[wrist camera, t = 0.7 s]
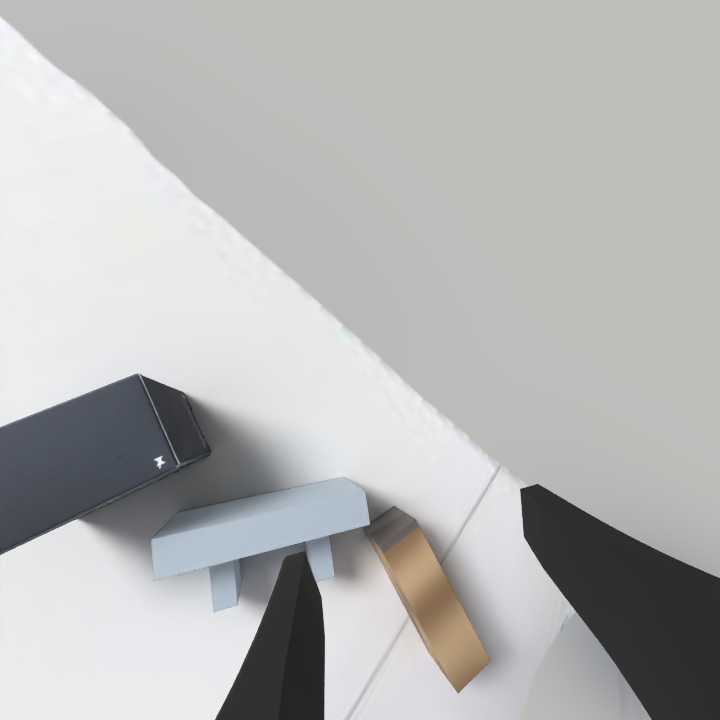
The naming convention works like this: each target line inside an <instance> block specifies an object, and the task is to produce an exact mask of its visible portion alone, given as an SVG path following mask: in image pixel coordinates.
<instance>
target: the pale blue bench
mask: <svg viewBox="0 0 720 720" xmlns="http://www.w3.org/2000/svg"><path fill="white" fill-rule="evenodd" d="M367 525H370V520H369V514H368V507H367V500H366V494H365V490H363V489H362V488H360V487H359V486H357V485H356V484H354V483H353V482H351V481H350V480H348V479H347V478H345V477H341V478H336V479H331V480H327V481H322V482H317V483H313V484H308V485H303V486H299V487H294V488H289V489H285V490H280V491H275V492H271V493H266V494H261V495H257V496H252V497H247V498H242V499H238V500H233V501H228V502H224V503H219V504H214V505H210V506H205V507H200V508H196V509H191V510H186V511H182V512H178V513H177V514H176V515H175V516H174V517H173V518H172V519H171V520H170V521H169V522H168V523H167V524H166V525H165V526H164V527H163V528H162V529H161V530H160V531H159V532H158V533H157V534H156V535H155V536H154V537H153V538H152V539H151V547H152V563H153V578H154V581H156V580H159V579H163V578H167V577H171V576H175V575H179V574H183V573H186V572H190V571H194V570H198V569H202V568H206V567H209V566H210V578H211V590H212V601H213V612H217V611H220V610H224V609H227V608H230V607H234V606H237V605H238V599H239V593H240V586H241V573H240V563H239V559H240V558H244V557H248V556H252V555H255V554H259V553H263V552H267V551H271V550H275V549H278V548H282V547H286V546H290V545H294V544H298V543H301V542H305V544H306V552H307V559H308V561H309V564H310V567H311V570H312V572H313V575H314V578H315V581H316V582H318V581H321V580H324V579H328V578H331V577H335V576H334V568H333V561H332V553H331V546H330V538H329V535H332V534H336V533H340V532H344V531H347V530H351V529H355V528H359V527H363V526H367Z"/></svg>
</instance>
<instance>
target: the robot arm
mask: <svg viewBox="0 0 720 720" xmlns="http://www.w3.org/2000/svg"><path fill="white" fill-rule="evenodd" d="M520 492H521V505H522V517H523V530H524V537H525V539H526V541H527V542H528V544H529V546H530V547H531V549H532V551H533V552H534V554H535V556H536V557H537V559H538V560H539V562H540V564H541V565H542V567H543V568H544V570H545V571H546V572H547V574H548V575H549V576H550V578H551V579H552V580H553V582H554V583H555V584H556V586H557V587H558V588H559V590H560V591H561V592H562V594H563V595H564V596H565V598H566V599H567V600H568V601H569V603H570V604H571V605H572V607H573V608H574V609H575V611H576V612H577V613H578V614H579V616H580V617H581V618H582V620H583V621H584V622H585V623H586V625H587V626H588V627H589V629H590V630H591V631H592V633H593V634H594V635H595V637H596V638H597V639H598V640H599V642H600V643H601V644H602V646H603V647H604V649H605V650H606V651H607V653H608V654H609V655H610V657H611V658H612V660H613V661H614V662H615V664H616V665H617V667H618V668H619V670H620V672H621V673H622V675H623V676H624V678H625V679H626V681H627V682H628V684H629V685H630V687H631V688H632V690H633V691H634V693H635V694H636V696H637V697H638V699H639V700H640V702H641V703H642V705H643V707H644V708H645V710H646V711H647V713H648V714H649V716H650V718H651V719H652V720H720V578H718V577H716V576H713V575H711V574H709V573H706V572H704V571H702V570H699V569H697V568H695V567H693V566H690V565H688V564H686V563H684V562H681V561H679V560H677V559H675V558H672V557H670V556H668V555H666V554H664V553H662V552H660V551H658V550H655V549H654V548H652V547H650V546H647V545H646V544H644V543H642V542H640V541H638V540H636V539H634V538H632V537H630V536H628V535H626V534H624V533H622V532H620V531H619V530H617V529H615V528H613V527H611V526H609V525H608V524H606V523H604V522H602V521H600V520H599V519H597V518H595V517H593V516H591V515H590V514H588V513H586V512H585V511H583V510H581V509H579V508H578V507H576V506H574V505H573V504H571V503H569V502H567V501H566V500H564V499H562V498H560V497H559V496H557V495H556V494H554V493H552V492H551V491H549V490H547V489H546V488H544V487H542V486H540V485H539V484H536V485H533V486H529V487H526V488H522V489H520ZM324 679H325V633H324V620H323V609H322V598H321V595H320V592H319V589H318V586H317V584H316V581H315V578H314V575H313V572H312V570H311V567H310V564H309V561H308V559H307V556H306V553H305V551H304V552H301V553H297V554H294V555H290V556H287V557H285V559H284V560H283V563H282V566H281V569H280V572H279V575H278V578H277V581H276V584H275V587H274V590H273V592H272V595H271V598H270V600H269V603H268V606H267V608H266V611H265V613H264V616H263V618H262V621H261V623H260V626H259V628H258V631H257V633H256V635H255V638H254V640H253V642H252V645H251V647H250V649H249V651H248V653H247V656H246V658H245V660H244V662H243V664H242V667H241V669H240V671H239V673H238V675H237V677H236V680H235V682H234V684H233V686H232V688H231V690H230V692H229V694H228V696H227V698H226V700H225V702H224V704H223V706H222V707H221V709H220V711H219V713H218V715H217V717H216V719H215V720H324Z"/></svg>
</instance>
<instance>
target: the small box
mask: <svg viewBox="0 0 720 720" xmlns="http://www.w3.org/2000/svg"><path fill="white" fill-rule="evenodd" d="M199 428H200V427H199V426H198V423H197V422H196V418H195V417H194V415H193V412H192V408H191V406H190V404H189V402H188V401H187V399H186V398H185V395H184V393H183V392H182V391H179V390H176V389H174V388H171V387H169V386H166V385H164V384H161V383H159V382H157V381H154V380H152V379H149V378H147V377H145V376H142V375H141V374H134V375H132V376H129V377H127V378H125V379H122V380H119V381H117V382H114V383H112V384H109V385H107V386H104V387H102V388H99V389H96V390H94V391H91V392H89V393H86V394H84V395H81V396H79V397H76V398H74V399H71V400H68V401H66V402H63V403H61V404H58V405H56V406H53V407H51V408H48V409H45V410H43V411H40V412H38V413H35V414H33V415H30V416H27V417H25V418H22V419H20V420H17V421H15V422H12V423H9V424H7V425H4V426H2V427H0V555H1V554H3V553H5V552H7V551H10V550H12V549H14V548H16V547H18V546H20V545H23V544H25V543H27V542H29V541H31V540H33V539H35V538H37V537H39V536H41V535H43V534H45V533H48V532H50V531H52V530H54V529H56V528H58V527H60V526H63V525H65V524H67V523H69V522H71V521H73V520H76V519H79V518H81V517H82V516H84V515H87V514H89V513H91V512H93V511H95V510H97V509H99V508H101V507H103V506H106V505H108V504H110V503H112V502H114V501H116V500H118V499H120V498H123V497H125V496H127V495H129V494H131V493H133V492H135V491H137V490H139V489H141V488H143V487H145V486H148V485H150V484H152V483H154V482H156V481H158V480H161V479H163V478H165V477H167V476H168V475H170V474H172V473H176V472H178V471H179V470H180V469H182V468H184V467H187V466H188V465H190V464H192V463H194V462H196V461H198V460H200V459H202V458H204V457H207V456H209V455H210V452H211V450H210V449H209V446H208V444H207V443H206V441H205V439H204V436H203V435H202V432H201V430H200V429H199Z"/></svg>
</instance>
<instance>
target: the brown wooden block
mask: <svg viewBox="0 0 720 720" xmlns="http://www.w3.org/2000/svg"><path fill="white" fill-rule="evenodd" d="M363 528H364V530H365V532H366V534H367V536H368V538H369V540H370V542H371V543H372V545H373V547H374V549H375V551H376V553H377V555H378V557H379V559H380V561H381V563H382V564H383V566H384V568H385V570H386V572H387V574H388V576H389V578H390V580H391V582H392V584H393V585H394V587H395V589H396V591H397V593H398V595H399V597H400V599H401V601H402V603H403V605H404V606H405V608H406V610H407V612H408V614H409V616H410V618H411V620H412V622H413V624H414V626H415V627H416V629H417V631H418V633H419V635H420V637H421V639H422V641H423V643H424V645H425V647H426V648H427V650H428V652H429V654H430V655H431V657H432V658H433V659H434V661H435V662H436V663H437V665H438V666H439V668H440V669H441V670H442V672H443V673H444V675H445V676H446V677H447V679H448V680H449V682H450V683H451V684H452V686H453V687H454V689H455V690H456V691H457V693H459V692H460V691H461V690H462V689H463V688H464V687H465V686H466V685H467V684H468V683H469V682H470V681H471V680H472V679H473V678H474V677H475V676H476V675H477V674H478V673H479V672H480V671H481V670H482V669H483V668H484V667H485V666H486V665H487V664H488V663H489V662H490V661H491V660H490V659H489V657H488V655H487V653H486V651H485V649H484V647H483V645H482V643H481V642H480V640H479V638H478V636H477V634H476V632H475V630H474V628H473V626H472V625H471V623H470V621H469V619H468V617H467V615H466V613H465V611H464V610H463V608H462V606H461V604H460V602H459V600H458V598H457V596H456V594H455V593H454V591H453V589H452V587H451V585H450V583H449V581H448V579H447V577H446V576H445V574H444V572H443V570H442V568H441V566H440V564H439V562H438V560H437V559H436V557H435V555H434V553H433V551H432V549H431V547H430V545H429V543H428V542H427V540H426V538H425V536H424V534H423V532H422V530H421V528H420V527H419V525H418V523H417V521H416V520H415V519H414V518H412V517H411V516H409V515H408V514H406V513H404V512H403V511H401V510H400V509H398V508H396V507H395V506H393V507H392V508H390V509H389V510H388V511H386V512H385V513H383V514H382V515H381V516H379V517H378V518H376V519H375V520H373V521H372V522H371V523H370V525H367V526H365V527H363Z"/></svg>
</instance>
